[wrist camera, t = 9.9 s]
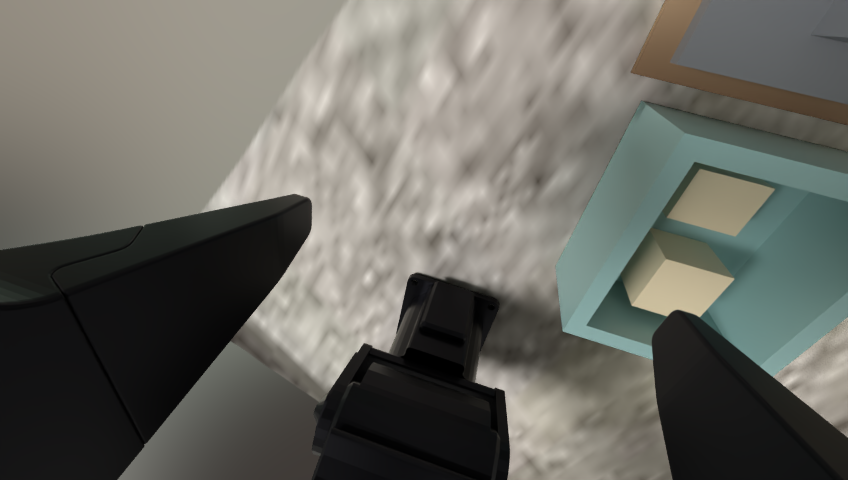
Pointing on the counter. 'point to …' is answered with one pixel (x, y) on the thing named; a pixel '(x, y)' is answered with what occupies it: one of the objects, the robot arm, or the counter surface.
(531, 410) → the counter surface
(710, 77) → the walnut board
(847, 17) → the lid
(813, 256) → the storage box
